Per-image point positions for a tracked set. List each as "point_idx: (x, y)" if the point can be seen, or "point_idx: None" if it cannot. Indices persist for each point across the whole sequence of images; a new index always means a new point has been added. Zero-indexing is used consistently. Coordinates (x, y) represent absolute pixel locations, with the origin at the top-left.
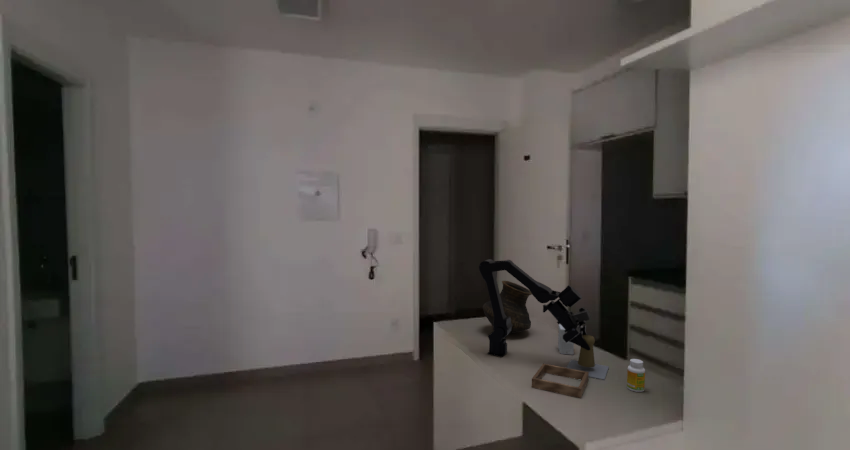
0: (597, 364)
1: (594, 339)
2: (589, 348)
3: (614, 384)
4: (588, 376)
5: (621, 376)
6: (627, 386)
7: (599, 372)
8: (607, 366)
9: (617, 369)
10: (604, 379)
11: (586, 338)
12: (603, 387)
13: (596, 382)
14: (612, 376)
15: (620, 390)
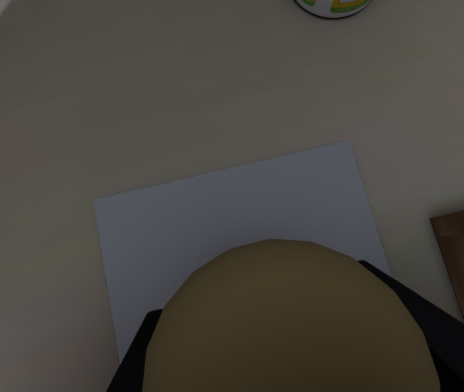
0: (109, 275)
1: (240, 249)
2: (375, 271)
3: (360, 80)
4: (444, 215)
5: (201, 90)
6: (366, 2)
7: (257, 206)
8: (101, 206)
9: (94, 146)
10: (349, 141)
11: (429, 372)
12: (456, 111)
13: (417, 168)
14: (242, 129)
15: (418, 30)
